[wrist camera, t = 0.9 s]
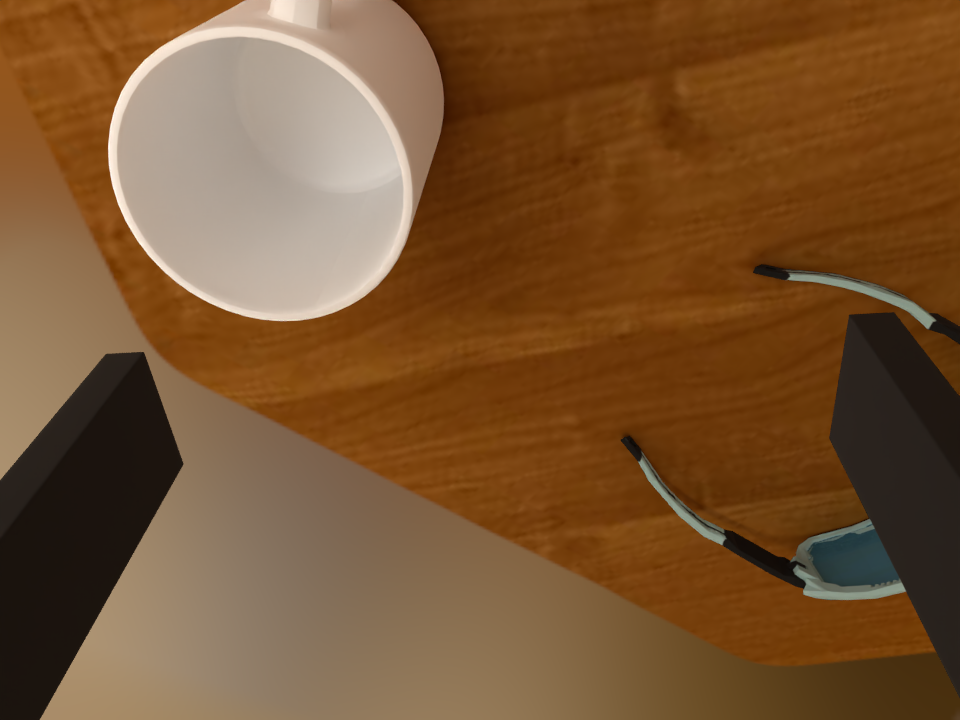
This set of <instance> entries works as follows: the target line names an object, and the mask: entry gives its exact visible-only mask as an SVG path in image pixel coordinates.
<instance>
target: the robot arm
mask: <svg viewBox="0 0 960 720" xmlns="http://www.w3.org/2000/svg"><path fill="white" fill-rule="evenodd" d="M829 439H830V441H831V443H832V445H833V447H834V449H835V451H836V453H837V455H838V457H839V459H840V461H841V463H842V465H843V467H844V469H845V471H846V473H847V475H848V477H849V479H850V481H851V483H852V485H853V487H854V489H855V491H856V493H857V495H858V497H859V499H860V501H861V503H862V505H863V507H864V509H865V511H866V513H867V515H868V517H869V518H870V520H871V522H872V524H873V526H874V528H875V530H876V532H877V534H878V536H879V538H880V540H881V542H882V544H883V546H884V548H885V550H886V552H887V554H888V556H889V558H890V560H891V562H892V564H893V566H894V568H895V570H896V572H897V574H898V576H899V578H900V580H901V582H902V584H903V586H904V588H905V590H906V592H907V594H908V596H909V598H910V600H911V602H912V604H913V606H914V608H915V610H916V612H917V614H918V616H919V618H920V620H921V622H922V624H923V626H924V628H925V630H926V632H927V634H928V636H929V638H930V640H931V642H932V644H933V646H934V648H935V650H936V652H937V654H938V656H939V658H940V660H941V662H942V664H943V665H944V668H945V670H946V672H947V674H948V676H949V678H950V679H951V682H952V684H953V686H954V687H955V690H956V692H957V694H958V696H959V697H960V397H959V395H958V394H957V393H956V391H955V390H954V389H953V388H952V386H951V385H950V384H949V382H948V381H947V380H946V379H945V377H944V376H943V375H942V373H941V372H940V371H939V370H938V368H937V367H936V366H935V364H934V363H933V362H932V361H931V359H930V358H929V357H928V355H927V354H926V353H925V352H924V350H923V349H922V348H921V346H920V345H919V344H918V343H917V341H916V340H915V339H914V337H913V336H912V335H911V334H910V332H909V331H908V330H907V328H906V327H905V326H904V325H903V323H902V322H901V321H900V319H899V318H898V317H897V316H896V314H895V313H894V312H892V313H873V314H854V315H849V320H848V326H847V332H846V338H845V344H844V351H843V357H842V363H841V369H840V375H839V381H838V388H837V394H836V400H835V406H834V412H833V419H832V425H831V431H830V437H829ZM182 466H183V461H182V458H181V456H180V453H179V450H178V447H177V444H176V441H175V438H174V436H173V433H172V430H171V427H170V424H169V422H168V419H167V416H166V413H165V410H164V408H163V405H162V402H161V399H160V396H159V393H158V391H157V388H156V385H155V382H154V380H153V376H152V374H151V371H150V368H149V365H148V362H147V360H146V357H145V354H144V352H136V353H135V352H134V353H116V354H106V355H105V356H104V357H103V358H102V359H101V361H100V362H99V363H98V364H97V365H96V367H95V368H94V369H93V370H92V371H91V373H90V374H89V375H88V376H87V377H86V378H85V380H84V381H83V382H82V383H81V385H80V386H79V387H78V388H77V389H76V390H75V392H74V393H73V394H72V395H71V396H70V398H69V399H68V400H67V401H66V402H65V404H64V405H63V406H62V407H61V408H60V409H59V411H58V412H57V413H56V414H55V415H54V417H53V418H52V419H51V420H50V421H49V423H48V424H47V425H46V426H45V427H44V429H43V430H42V431H41V432H40V433H39V435H38V436H37V437H36V438H35V439H34V441H33V442H32V443H31V444H30V445H29V447H28V448H27V449H26V450H25V451H24V452H23V454H22V455H21V456H20V457H19V458H18V460H17V461H16V462H15V463H14V465H13V466H12V467H11V468H10V469H9V470H8V472H7V473H6V474H5V475H4V476H3V478H2V479H1V480H0V720H40V718H41V716H42V715H43V713H44V711H45V709H46V707H47V706H48V704H49V702H50V700H51V698H52V697H53V695H54V693H55V692H56V690H57V688H58V686H59V684H60V683H61V681H62V679H63V677H64V676H65V674H66V672H67V670H68V668H69V667H70V665H71V663H72V661H73V660H74V658H75V656H76V654H77V652H78V650H79V649H80V647H81V645H82V643H83V642H84V640H85V638H86V636H87V635H88V633H89V631H90V629H91V628H92V626H93V624H94V622H95V620H96V619H97V617H98V615H99V613H100V612H101V610H102V608H103V606H104V604H105V603H106V601H107V599H108V597H109V596H110V594H111V592H112V590H113V588H114V586H115V585H116V583H117V581H118V579H119V578H120V576H121V574H122V572H123V571H124V569H125V567H126V565H127V564H128V562H129V560H130V558H131V557H132V555H133V553H134V551H135V549H136V547H137V545H138V544H139V542H140V541H141V539H142V537H143V535H144V533H145V532H146V530H147V528H148V526H149V524H150V523H151V520H152V519H153V517H154V516H155V514H156V512H157V510H158V509H159V507H160V505H161V503H162V501H163V499H164V498H165V496H166V494H167V492H168V491H169V489H170V487H171V485H172V484H173V482H174V480H175V478H176V477H177V475H178V473H179V471H180V469H181V468H182Z"/></svg>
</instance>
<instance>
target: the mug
mask: <svg viewBox="0 0 960 720" xmlns="http://www.w3.org/2000/svg"><path fill="white" fill-rule="evenodd" d="M443 113H444V93H443V83H442V79H441V74H440V70H439V66H438V64H437V61H436V58H435V55H434V53H433V51H432V49H431V47H430V45H429V43H428V41H427V39H426V37H425V36H424V34H423V33H422V31H421V30H420V28H419V27H418V25H417V24H416V23H415V22H414V20H413V19H412V18H411V17H410V16H409V15H408V13H406V12H405V11H404V10H403V9H402V8H401V7H400V6H399V5H397V4H396V3H395V2H394V1H392V0H246V1H244V2H242V3H240V4H238V5H236V6H235V7H233V8H231V9H229V10H227V11H225V12H223V13H222V14H220V15H218V16H216V17H214V18H212V19H210V20H209V21H207V22H205V23H203V24H201V25H199V26H197V27H196V28H194V29H192V30H190V31H188V32H186V33H184V34H183V35H181V36H179V37H177V38H175V39H174V40H172V41H170V42H168V43H167V44H165V45H163V46H162V47H160V48H159V49H157V50H156V51H155V52H154V53H153V54H151V55H150V56H149V57H148V58H147V59H145V60H144V61H143V63H142V64H141V65H140V66H139V67H138V68H137V69H136V71H135V72H134V73H133V74H132V75H131V77H130V79H129V80H128V82H127V84H126V85H125V87H124V88H123V90H122V92H121V95H120V97H119V99H118V102H117V104H116V107H115V110H114V114H113V118H112V122H111V126H110V134H109V145H108V153H109V168H110V174H111V179H112V185H113V189H114V192H115V195H116V198H117V201H118V204H119V207H120V209H121V211H122V213H123V216H124V218H125V220H126V222H127V224H128V226H129V227H130V229H131V231H132V232H133V234H134V236H135V237H136V239H137V241H138V242H139V243H140V245H141V246H142V247H143V248H144V250H145V251H146V252H147V254H148V255H149V256H150V257H151V258H152V259H153V261H154V262H155V263H156V264H157V265H158V266H159V267H160V268H161V269H162V270H163V271H164V272H165V273H166V274H168V275H169V276H170V277H171V278H172V279H173V280H175V281H176V282H177V283H178V284H180V285H181V286H183V287H184V288H185V289H187V290H188V291H190V292H191V293H193V294H194V295H196V296H198V297H200V298H201V299H203V300H205V301H207V302H209V303H211V304H213V305H215V306H218V307H220V308H222V309H225V310H227V311H230V312H233V313H237V314H240V315H243V316H247V317H252V318H257V319H263V320H274V321H297V320H305V319H311V318H317V317H320V316H324V315H327V314H331V313H334V312H336V311H338V310H341V309H343V308H345V307H347V306H350V305H351V304H353V303H355V302H356V301H358V300H359V299H361V298H363V297H364V296H366V295H367V294H368V293H369V292H370V291H372V290H373V289H374V288H375V287H376V286H378V284H379V283H380V282H381V281H382V280H383V279H384V278H385V277H386V276H387V275H388V273H389V272H390V271H391V269H392V268H393V266H394V265H395V263H396V262H397V260H398V258H399V256H400V254H401V252H402V250H403V248H404V246H405V244H406V241H407V238H408V235H409V232H410V228H411V225H412V222H413V219H414V216H415V213H416V209H417V206H418V203H419V200H420V197H421V194H422V191H423V187H424V184H425V181H426V178H427V175H428V172H429V168H430V165H431V162H432V159H433V156H434V153H435V150H436V146H437V143H438V140H439V137H440V133H441V127H442V121H443Z"/></svg>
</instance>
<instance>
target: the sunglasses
mask: <svg viewBox="0 0 960 720" xmlns="http://www.w3.org/2000/svg"><path fill="white" fill-rule="evenodd" d="M753 273H756V274H760V275H765V276H769V277H773V278H778V279H782V280H793V281H810V282H818V283H823V284H828V285H833V286H838V287H843V288H847V289H850V290H854V291H857V292H861V293H864V294H867V295H869V296H872V297H875V298H878V299H880V300H883V301H886V302H888V303H890V304H893V305H895V306H897V307H900V308H902V309H904V310H906V311H908V312H909V313H910V314H911V315H913V316H914V317H915V318H916V319H917V320H918V321H920V322H921V324H923V325H924V326H925V327H926V328H927V329H929V330H932V331H935V332H938V333H942V334H945V335H947V336H948V337H950V338H951V339H953V340H954V341H956V342H957V343H959V344H960V326H958V325H956V324H954V323H953V322H951V321H949V320H947V319H946V318H944V317H942V316H940V315H939V314H935V313H928V312H927V311H926V310H924V309H923V308H921V307H920V306H919V305H917V304H916V303H914V302H913V301H911V300H910V299H909V298H907V297H906V296H904V295H903V294H900V293H898V292H895V291H893V290H890V289H888V288H885V287H883V286H880V285H878V284H874V283H870V282H866V281H862V280H858V279H854V278H850V277H846V276H842V275H838V274H834V273H824V272H813V271H802V270H791V269H783V268H778V267H773V266H768V265H763V264H761V265H759V266H757V267H755V269H754V272H753ZM621 441H622V442H623V444H624V445H625V446H626V447H627V449H628V450H629V451H630V452H631V453H632V455H633V456H634V457H635V458H636V460H637V461H638V462H639V464H640V466H641V468H642V470H643V471H644V473H645V475H646V477H647V479H648V480H649V482H650V483H651V484H652V485H653V486H654V488H655V489H656V490H657V491H658V492H659V493H660V494H661V496H662V497H663V498H664V499H665V500H666V501H667V502H668V504H669V505H670V506H671V507H672V508H673V509H674V510H675V512H676V513H677V514H678V515H679V516H680V517H681V518H682V519H683V520H685V521H686V522H687V523H688V524H689V525H691V526H692V527H693V528H694V529H695V530H697V531H698V532H699V533H700V534H702V535H703V536H704V537H706V538H708V539H710V540H712V541H714V542H717V543H719V544H721V545H723V546H724V547H726V548H727V549H729V550H731V551H732V552H734V553H735V554H737V555H739V556H741V557H742V558H744V559H746V560H747V561H749V562H751V563H753V564H754V565H756V566H758V567H759V568H761V569H763V570H765V571H766V572H768V573H770V574H772V575H774V576H776V577H778V578H780V579H782V580H784V581H786V582H788V583H790V584H792V585H794V586H797V587H800V588H803V589H804V590H803V593H804V595H807V596H810V597H814V598H820V599H827V600H856V599H874V598H880V597H885V596H889V595H893V594H898V593H902V592H906V590H905V588H904V586H903V584H902V582H901V580H900V578H899V576H898V574H897V572H896V570H895V568H894V566H893V564H892V562H891V560H890V558H889V556H888V554H887V552H886V550H885V548H884V546H883V544H882V542H881V540H880V538H879V536H878V534H877V532H876V530H875V528H874V526H873V524H872V522H871V520H870V519H868V520H866V521H863V522H861V523H859V524H856V525H854V526H851V527H847V528H843V529H840V530H836V531H832V532H829V533H825V534H821V535H818V536H814V537H810V538H808V539H807V540H805V541H804V542H803V543H801V544H800V545H799V546H798V549H797V551H796V557H795V556H794V557H793V558H792V560H791V561H790V560H788V559H786V558H785V557H777V556H775V555H773V554H772V553H770V552H768V551H766V550H765V549H763V548H761V547H759V546H758V545H756V544H754V543H752V542H750V541H749V540H747V539H745V538H743V537H742V536H740V535H738V534H736V533H735V532H733V531H728V530H724V529H722V528H720V527H718V526H717V525H715V524H712V523H710V522H708V521H706V520H704V519H702V518H701V517H699V516H698V515H697V514H696V513H694V512H693V511H692V510H691V509H690V508H688V507H687V506H686V505H685V504H684V503H683V502H682V501H681V500H680V499H679V498H678V497H677V496H676V495H675V494H673V493H672V492H671V490H670V489H669V488H668V487H667V486H666V485H665V484H664V483H663V482H662V480H661V479H660V477H659V476H658V474H657V473H656V471H655V470H654V468H653V467H652V465H651V464H650V462H649V461H648V459H647V458H646V457H645V455H644V454H643V452H642V451H641V449H640V448H639V446H638V445H637V444H636V443H635V442H634V441H633V439H632V438H631V437H630V436H628V437H624V438H623V439H621Z"/></svg>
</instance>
